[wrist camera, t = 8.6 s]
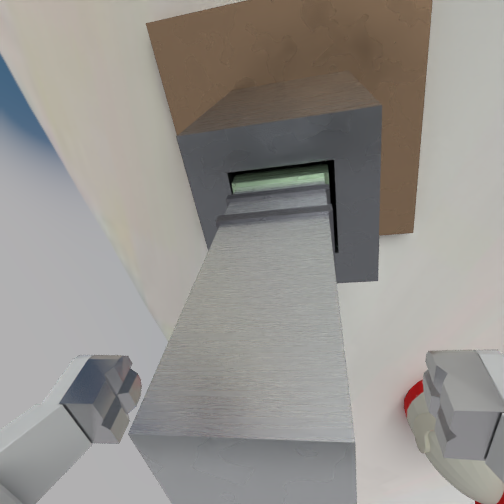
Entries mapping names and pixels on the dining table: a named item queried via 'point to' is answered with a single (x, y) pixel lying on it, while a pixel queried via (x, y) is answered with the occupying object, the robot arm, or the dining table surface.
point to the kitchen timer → (453, 470)
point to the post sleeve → (303, 106)
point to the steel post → (257, 358)
